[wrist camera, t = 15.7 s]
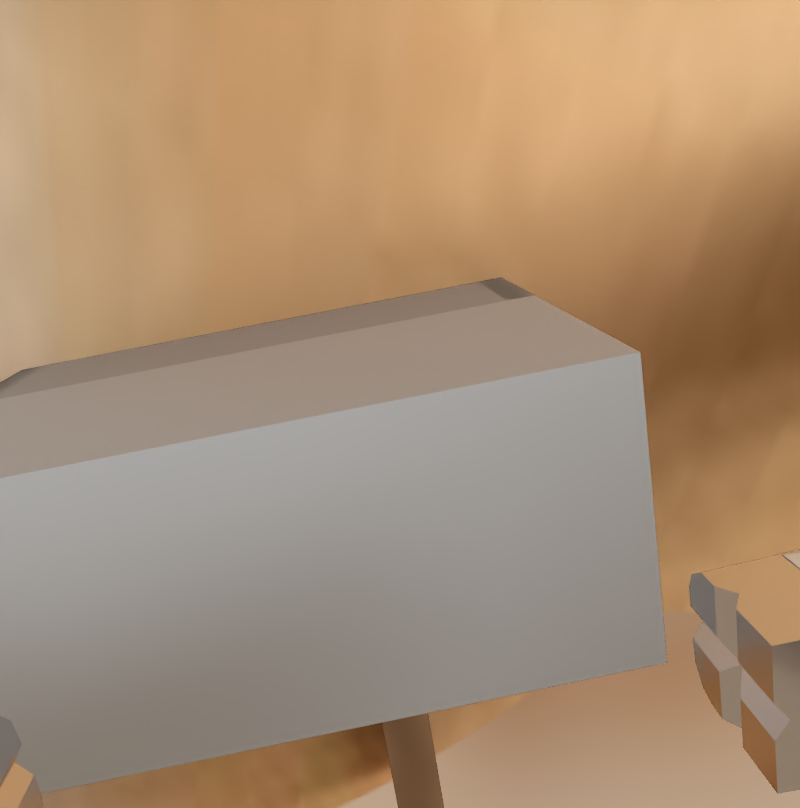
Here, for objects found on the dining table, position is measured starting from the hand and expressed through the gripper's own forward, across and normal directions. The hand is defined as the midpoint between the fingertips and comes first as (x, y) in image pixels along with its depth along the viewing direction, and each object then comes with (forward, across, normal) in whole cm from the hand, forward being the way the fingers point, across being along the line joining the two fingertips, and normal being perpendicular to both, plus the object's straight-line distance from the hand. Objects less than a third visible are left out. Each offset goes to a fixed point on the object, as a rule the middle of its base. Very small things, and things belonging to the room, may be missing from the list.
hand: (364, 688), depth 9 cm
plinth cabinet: (+29, +4, +6) cm, 30 cm away
